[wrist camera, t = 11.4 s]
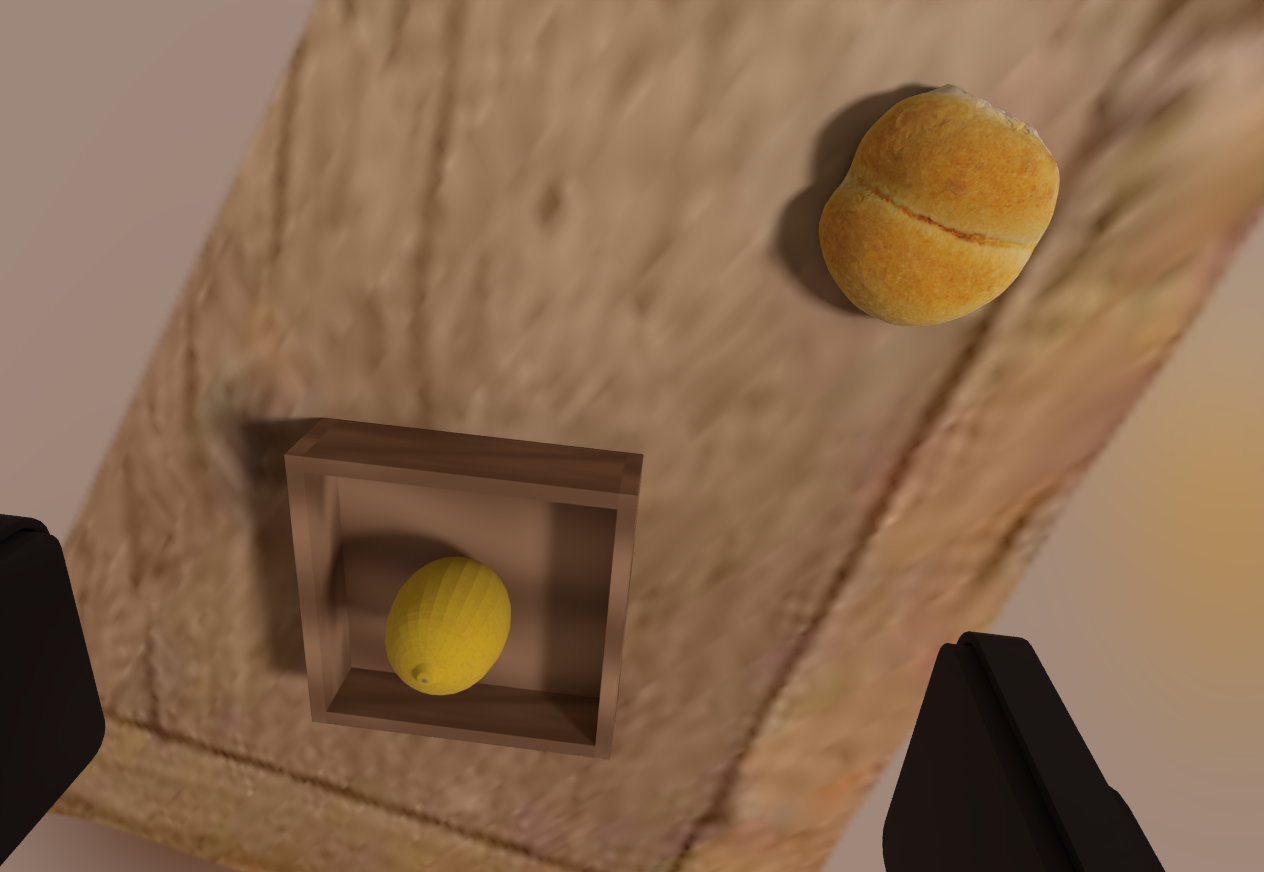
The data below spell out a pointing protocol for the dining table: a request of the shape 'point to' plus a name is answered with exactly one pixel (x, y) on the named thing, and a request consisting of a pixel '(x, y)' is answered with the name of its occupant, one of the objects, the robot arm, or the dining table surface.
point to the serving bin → (486, 532)
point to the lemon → (448, 625)
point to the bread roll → (938, 209)
